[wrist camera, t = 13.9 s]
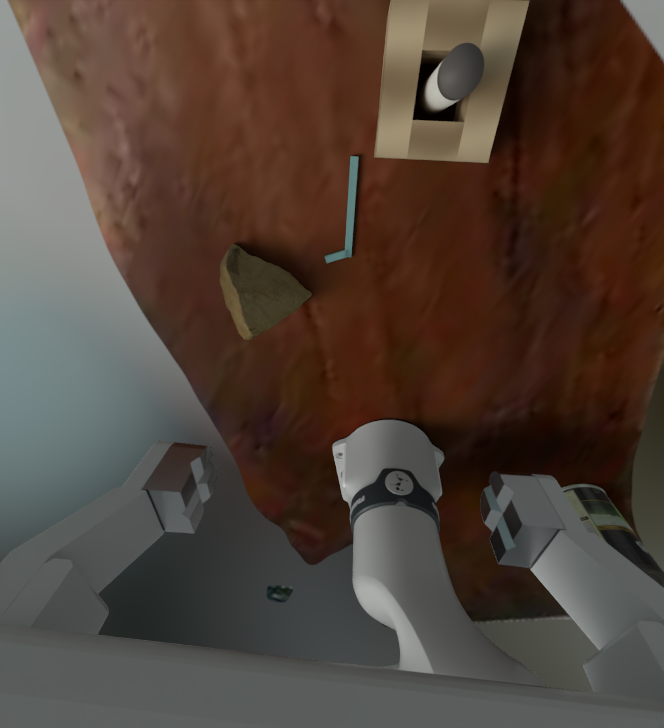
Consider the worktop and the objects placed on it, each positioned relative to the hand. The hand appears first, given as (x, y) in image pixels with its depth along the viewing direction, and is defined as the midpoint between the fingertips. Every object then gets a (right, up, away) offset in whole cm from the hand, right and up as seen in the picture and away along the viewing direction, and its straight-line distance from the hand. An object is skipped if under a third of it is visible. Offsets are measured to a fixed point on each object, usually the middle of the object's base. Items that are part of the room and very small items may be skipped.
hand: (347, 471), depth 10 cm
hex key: (0, +20, +27) cm, 33 cm away
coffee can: (+44, -22, +49) cm, 69 cm away
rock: (-9, +14, +31) cm, 36 cm away
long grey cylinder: (+9, +28, +21) cm, 36 cm away
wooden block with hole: (+9, +28, +21) cm, 36 cm away
